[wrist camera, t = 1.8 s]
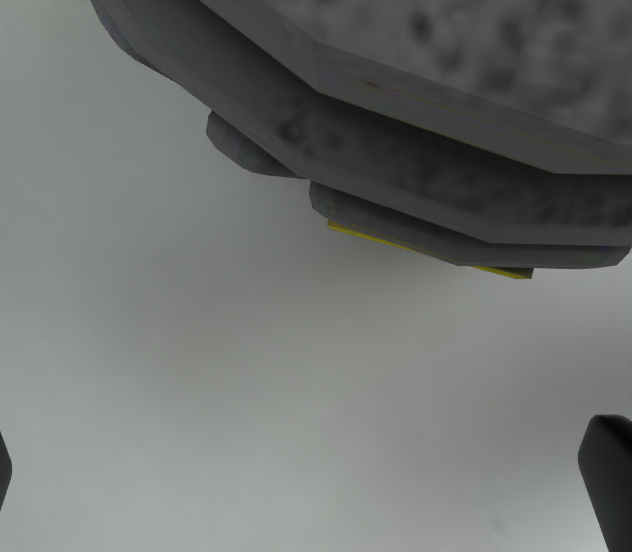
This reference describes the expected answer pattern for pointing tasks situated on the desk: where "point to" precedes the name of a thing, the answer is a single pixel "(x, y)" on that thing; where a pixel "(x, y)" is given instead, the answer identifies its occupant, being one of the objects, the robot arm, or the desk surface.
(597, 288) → the desk surface
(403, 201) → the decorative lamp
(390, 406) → the desk surface
